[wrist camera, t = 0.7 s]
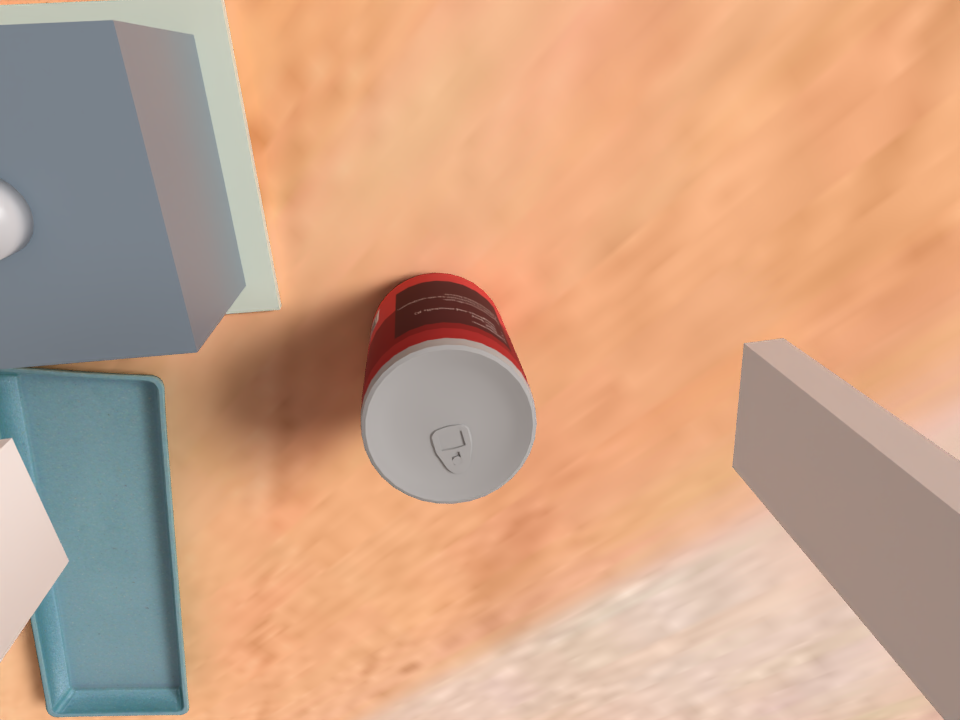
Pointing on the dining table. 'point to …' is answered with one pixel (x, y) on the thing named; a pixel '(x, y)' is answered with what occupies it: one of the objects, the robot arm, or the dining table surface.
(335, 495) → the dining table surface
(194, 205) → the cover
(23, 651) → the dining table surface
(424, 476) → the canned food
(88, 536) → the shallow long dish
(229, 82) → the mat
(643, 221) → the dining table surface
